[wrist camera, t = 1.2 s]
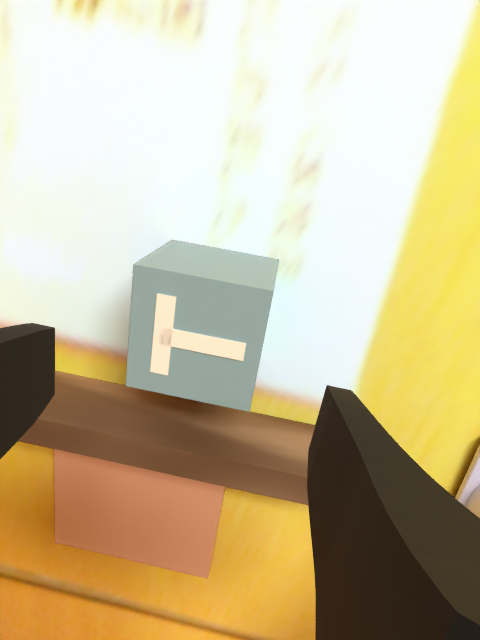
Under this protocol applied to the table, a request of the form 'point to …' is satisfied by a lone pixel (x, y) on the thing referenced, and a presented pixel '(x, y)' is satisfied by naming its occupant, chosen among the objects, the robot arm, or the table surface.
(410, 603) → the robot arm
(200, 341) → the lettered cube
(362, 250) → the table surface
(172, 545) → the terracotta tile
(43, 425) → the walnut plank
